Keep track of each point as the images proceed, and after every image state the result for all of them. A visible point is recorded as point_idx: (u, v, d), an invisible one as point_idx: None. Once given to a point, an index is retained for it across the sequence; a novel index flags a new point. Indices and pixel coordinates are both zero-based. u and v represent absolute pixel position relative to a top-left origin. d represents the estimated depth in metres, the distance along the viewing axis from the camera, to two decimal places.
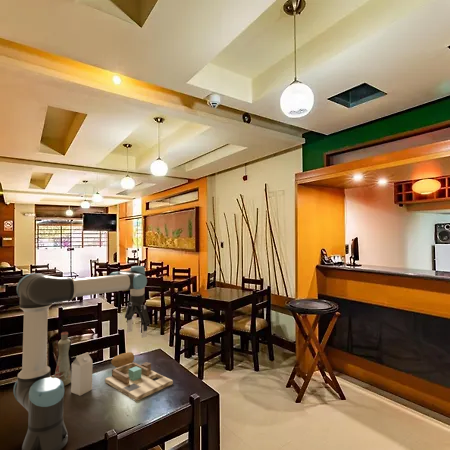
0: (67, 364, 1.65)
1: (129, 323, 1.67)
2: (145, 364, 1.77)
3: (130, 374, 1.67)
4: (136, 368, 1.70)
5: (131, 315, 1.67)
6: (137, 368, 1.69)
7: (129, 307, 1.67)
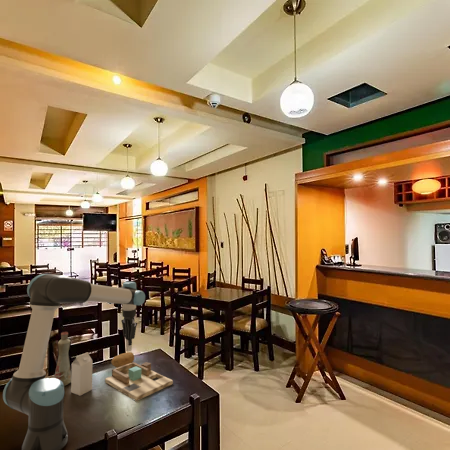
0: (67, 364, 1.65)
1: None
2: (145, 364, 1.77)
3: (130, 374, 1.67)
4: (136, 368, 1.70)
5: None
6: (137, 368, 1.69)
7: (123, 324, 1.76)
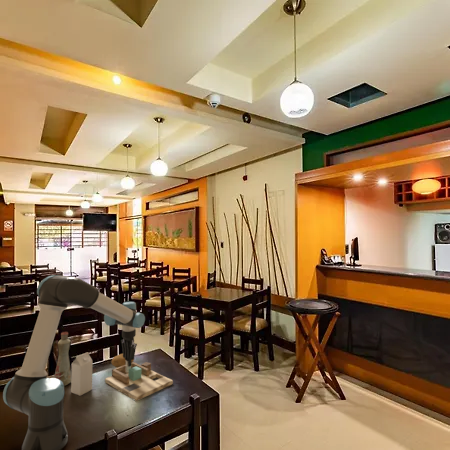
0: (67, 364, 1.65)
1: None
2: (145, 364, 1.77)
3: (130, 374, 1.67)
4: (136, 368, 1.70)
5: None
6: (137, 368, 1.69)
7: (123, 344, 1.75)
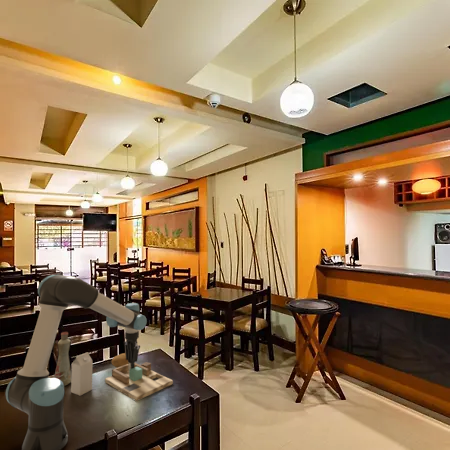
0: (67, 364, 1.65)
1: None
2: (145, 364, 1.77)
3: (131, 374, 1.66)
4: (136, 368, 1.69)
5: None
6: (138, 368, 1.69)
7: (126, 346, 1.73)
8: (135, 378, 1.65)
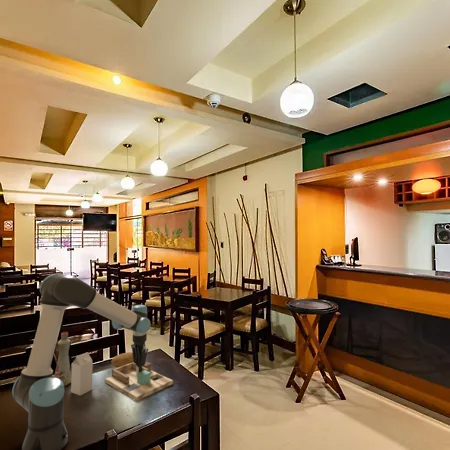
0: (67, 364, 1.65)
1: None
2: (145, 364, 1.77)
3: (139, 378, 1.62)
4: (145, 371, 1.65)
5: None
6: (146, 372, 1.64)
7: (133, 349, 1.68)
8: (143, 382, 1.60)
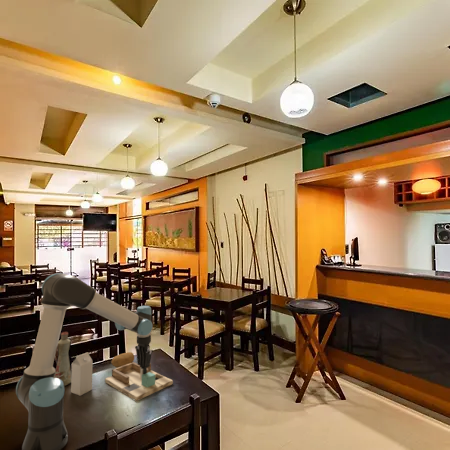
0: (67, 364, 1.65)
1: None
2: None
3: (143, 380, 1.59)
4: (149, 373, 1.62)
5: None
6: (151, 374, 1.62)
7: (137, 350, 1.66)
8: (148, 384, 1.58)
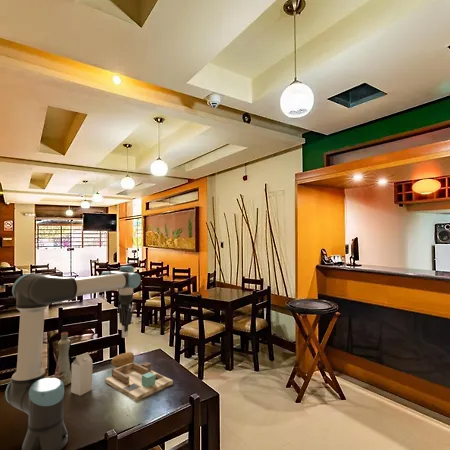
0: (67, 364, 1.65)
1: None
2: (145, 364, 1.77)
3: (143, 380, 1.59)
4: (149, 373, 1.62)
5: None
6: (151, 374, 1.62)
7: (120, 309, 1.70)
8: (148, 384, 1.58)
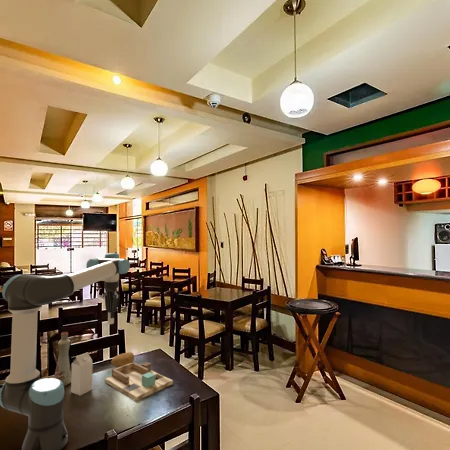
0: (67, 364, 1.65)
1: None
2: (145, 364, 1.77)
3: (143, 380, 1.59)
4: (149, 373, 1.62)
5: None
6: (151, 374, 1.62)
7: (106, 296, 1.70)
8: (148, 384, 1.58)
